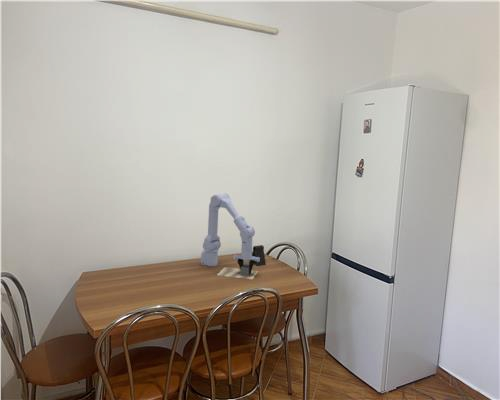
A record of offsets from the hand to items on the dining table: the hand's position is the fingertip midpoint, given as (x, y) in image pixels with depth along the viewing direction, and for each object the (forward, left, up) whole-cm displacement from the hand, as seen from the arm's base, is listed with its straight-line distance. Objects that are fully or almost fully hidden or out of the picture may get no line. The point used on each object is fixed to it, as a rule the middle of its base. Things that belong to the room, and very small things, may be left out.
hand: (246, 272), depth 201 cm
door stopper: (+2, +20, -2) cm, 20 cm away
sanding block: (0, 0, 0) cm, 0 cm away
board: (-5, 0, -2) cm, 5 cm away
